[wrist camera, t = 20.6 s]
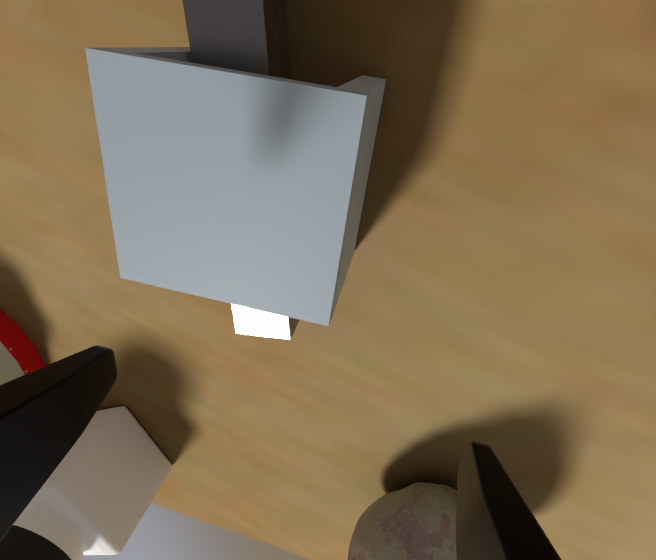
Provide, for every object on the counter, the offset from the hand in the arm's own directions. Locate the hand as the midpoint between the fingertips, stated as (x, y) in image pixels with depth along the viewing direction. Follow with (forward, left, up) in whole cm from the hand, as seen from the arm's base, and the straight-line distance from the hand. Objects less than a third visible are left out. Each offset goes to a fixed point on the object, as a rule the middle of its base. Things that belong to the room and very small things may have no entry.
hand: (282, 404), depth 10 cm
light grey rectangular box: (+16, +23, -12) cm, 31 cm away
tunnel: (+4, -3, -12) cm, 13 cm away
